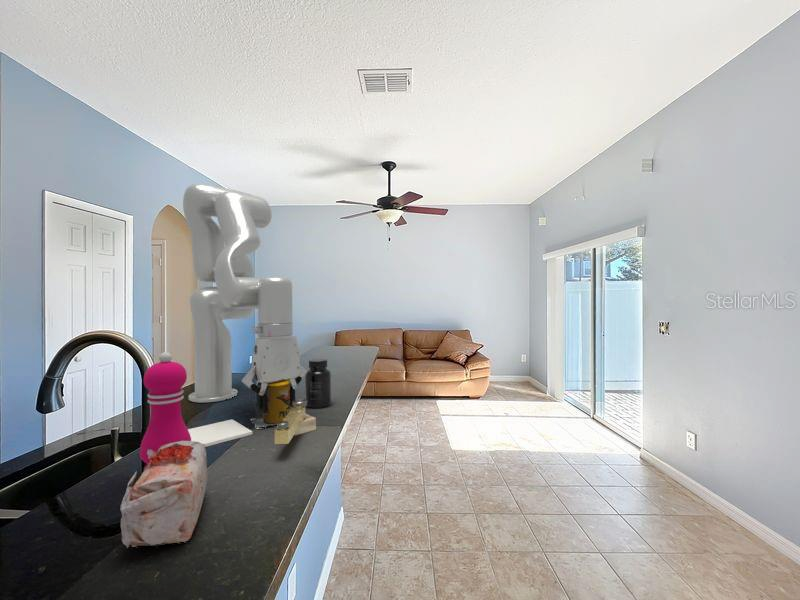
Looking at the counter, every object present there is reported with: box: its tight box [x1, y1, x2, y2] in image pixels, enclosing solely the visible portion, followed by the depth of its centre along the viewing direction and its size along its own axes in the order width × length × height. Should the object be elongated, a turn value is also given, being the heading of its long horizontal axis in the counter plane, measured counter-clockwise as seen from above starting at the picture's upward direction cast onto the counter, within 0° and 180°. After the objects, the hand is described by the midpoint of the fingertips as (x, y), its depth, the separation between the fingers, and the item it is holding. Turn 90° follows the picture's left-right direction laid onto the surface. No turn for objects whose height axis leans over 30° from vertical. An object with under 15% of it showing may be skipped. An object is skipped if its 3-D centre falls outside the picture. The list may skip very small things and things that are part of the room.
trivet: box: [187, 419, 253, 448], centre depth 80 cm, size 11×11×1 cm
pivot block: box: [293, 413, 317, 436], centre depth 82 cm, size 5×5×2 cm
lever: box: [274, 398, 307, 445], centre depth 76 cm, size 3×17×3 cm, turn 3°
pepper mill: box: [139, 351, 191, 471], centre depth 62 cm, size 7×7×20 cm
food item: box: [120, 441, 208, 549], centre depth 49 cm, size 14×8×10 cm, turn 21°
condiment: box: [250, 379, 291, 430], centre depth 87 cm, size 7×8×12 cm
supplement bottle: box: [304, 358, 332, 409], centre depth 101 cm, size 7×7×12 cm
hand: (276, 407), depth 88 cm, fingers closed on condiment, 6 cm apart
